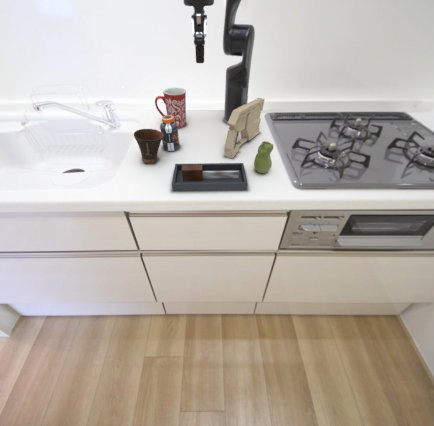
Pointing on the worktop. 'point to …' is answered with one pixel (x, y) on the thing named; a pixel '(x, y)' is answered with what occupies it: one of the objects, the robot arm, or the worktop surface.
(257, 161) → the pear
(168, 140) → the pill bottle
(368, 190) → the worktop surface
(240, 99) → the robot arm
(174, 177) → the dark grey tray
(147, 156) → the cup
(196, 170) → the knife
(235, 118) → the gun
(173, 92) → the mug
